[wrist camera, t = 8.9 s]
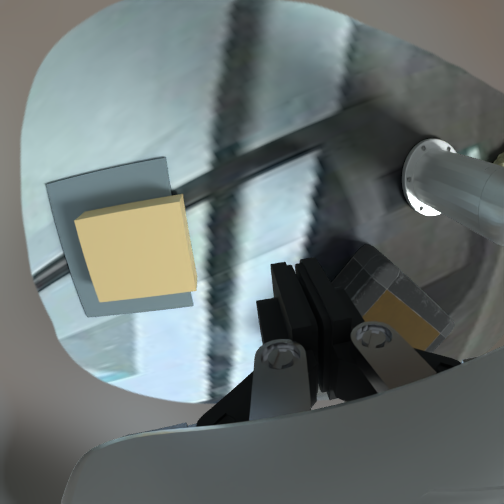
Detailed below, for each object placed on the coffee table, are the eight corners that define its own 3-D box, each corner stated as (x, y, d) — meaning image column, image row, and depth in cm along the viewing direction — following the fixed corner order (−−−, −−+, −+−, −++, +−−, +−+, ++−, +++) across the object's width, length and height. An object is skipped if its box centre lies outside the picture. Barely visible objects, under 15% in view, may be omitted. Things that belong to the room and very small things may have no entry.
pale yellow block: (179, 201, 36) (74, 220, 35) (196, 290, 41) (99, 302, 40) (182, 193, 40) (85, 210, 39) (197, 275, 45) (107, 287, 44)
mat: (165, 157, 38) (165, 157, 38) (193, 304, 47) (193, 306, 47) (47, 183, 37) (46, 184, 36) (88, 316, 46) (87, 317, 45)
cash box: (283, 333, 52) (294, 363, 45) (364, 238, 47) (388, 259, 39) (371, 375, 60) (385, 400, 53) (437, 304, 55) (458, 325, 48)
